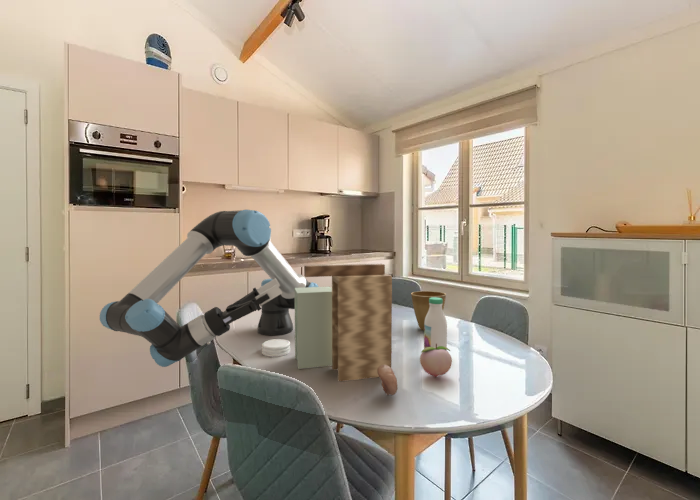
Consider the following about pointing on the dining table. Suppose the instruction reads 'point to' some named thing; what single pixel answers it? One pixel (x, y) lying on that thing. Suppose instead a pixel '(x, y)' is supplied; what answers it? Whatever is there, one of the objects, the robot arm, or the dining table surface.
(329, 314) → the sage green rectangular block
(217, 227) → the robot arm
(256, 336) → the dining table surface
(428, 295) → the plant pot
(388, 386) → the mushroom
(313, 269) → the wooden square beam
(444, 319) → the milk bottle
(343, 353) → the brown wooden tall box
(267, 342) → the coaster
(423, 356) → the decorative fruit
